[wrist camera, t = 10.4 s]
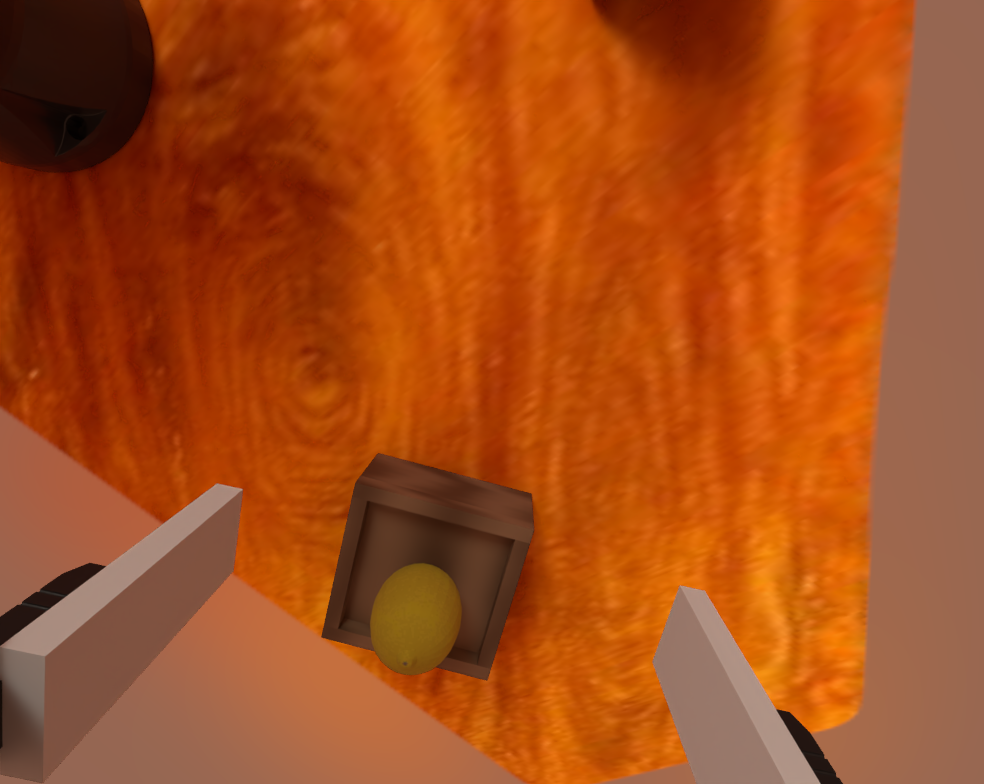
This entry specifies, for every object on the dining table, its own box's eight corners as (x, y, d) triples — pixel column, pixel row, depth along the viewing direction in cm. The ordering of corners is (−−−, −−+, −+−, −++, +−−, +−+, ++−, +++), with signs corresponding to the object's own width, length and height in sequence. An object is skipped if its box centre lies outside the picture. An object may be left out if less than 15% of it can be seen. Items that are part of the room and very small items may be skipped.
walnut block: (349, 585, 42) (321, 637, 36) (379, 450, 40) (355, 482, 34) (491, 622, 43) (487, 680, 36) (531, 491, 40) (534, 530, 34)
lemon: (459, 536, 35) (447, 616, 28) (470, 606, 37) (462, 700, 29) (379, 545, 36) (345, 626, 28) (394, 613, 37) (365, 709, 29)
